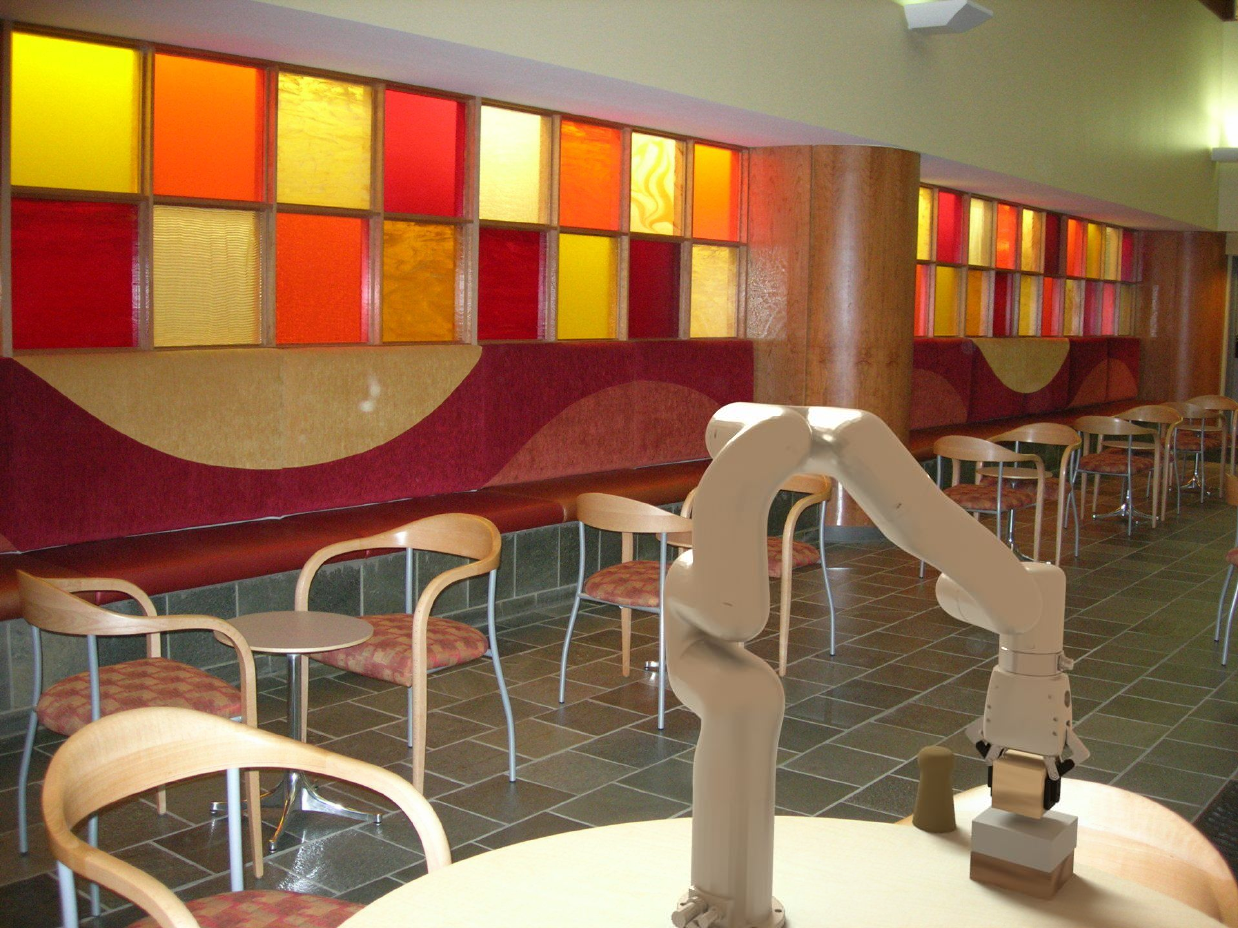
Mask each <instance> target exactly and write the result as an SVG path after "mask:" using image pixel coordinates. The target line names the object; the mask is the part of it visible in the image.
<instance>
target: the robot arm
mask: <svg viewBox="0 0 1238 928" xmlns="http://www.w3.org/2000/svg"><path fill="white" fill-rule="evenodd" d="M704 439H705V446H706V449H707V451H708V454H709V456H710V457H711V458H712V461H711V463H710V464H709V466H708V467H707V468H706V470H705V472H704V473H703V475H702V477H701V479H700V481H699V483H698V484H697V488H696V491H695V493H694V499H693V502H692V509H691V548H690V549H687V551H685V552H683V553H682V554H680V555H679V556H678V557H677V558H675V559H674V561H673V563H672V564H671V565H670V566H669V569H668V571H667V573H666V576H665V579H664V580H665V581H664V584H663V592H662V606H663V609H662V610H663V627H664V641H665V642H664V643H665V644H664V645H665V647H664V648H665V658H666V661H665V662H666V668H667V669H666V670H667V675H668V681H669V685H670V687H671V689H672V692H673V693H674V695H675V696H676V698H677V699H678V701H680V703H682V704H683V705H684V706H685V707H686V708H687V709H689V710H690V711H692V712H693V713H694V714H696V716H697V717H698V718H699V719H700V724H701V725H700V733H699V736H698V740H697V744H696V747H695V751H694V756H693V765H692V812H691V813H692V815H691V817H692V821H691V825H692V827H691V859H690V860H691V861H690V863H691V864H690V886H688V891H687V892H686V893H684V894H683V895H682V896H681V897H679V899H678V901H677V903H676V910H675V911H673V912H672V914H671V916H670V917H671V918H670V919H671V921H672V925H674V926H675V927H676V928H783V927H784V926H785V921H786V910H785V907H784V905H783V904H782V902H781V901H780V900H779V899H777V897H775V896H773V883H774V882H773V881H774V880H773V878H774V849H775V848H774V847H775V819H776V818H775V815H776V813H775V812H776V773H777V772H776V771H777V757H778V747H779V741H780V735H781V730H782V727H783V726H782V725H783V720H784V717H785V709H786V696H785V690H784V686H783V684H782V681H781V679H780V677H779V676H778V674H777V673H776V671H775V669H773V667H772V666H771V665H770V664H769V663H768V662H766V660H764V659H762V658H761V657H760V656H758V655H756V654H754V653H752V652H751V651H750V650H748V649H746V648H744V647H741V646H740V643H745V642H749V641H751V640H752V639H753V640H754V639H755V638H756V637H757V636H758V635H760V634H761V633H762V631H763V630H764V628H765V627H766V624H767V623H768V619H769V617H770V611H771V610H770V609H771V593H770V579H769V578H770V577H769V576H770V575H769V559H768V541H767V540H768V520H769V518H768V517H769V512H770V509H771V506H772V504H773V501H774V500H775V497H776V496H777V494H778V493H779V491H780V490H781V489H782V488H783V486H785V484H786V483H787V482H788V481H789V480H791V479H792V478H793V477H794V476H796V475H797V474H798V475H799V474H802V475H803V474H805V475H807V474H809V475H814V474H815V475H820V476H825V477H829V478H834V479H835V481H837V482H839V484H840V485H841V486H842V487H843V489H844V490H845V491H846V492H847V493H848V494H849V496H850V497H851V498H852V499H853V500H854V502H856V504H857V505H858V506H859V507H860V508H861V509H862V510H863V512H864V513H865V514H866V515H867V516H868V517H869V518H870V520H871V521H872V522H873V524H874V525H876V527H877V528H878V529H879V531H881V533H882V534H883V535H884V536H885V537H886V538H887V539H888V540H889V541H890V542H892V543H893V544H894V545H895V546H896V547H899V548H900V549H901V550H903V551H904V552H907V553H908V554H910V555H911V556H914V557H915V558H917V559H919V560H921V561H923V562H924V563H926V564H929V565H930V566H931V567H933V568H935V569H936V570H938V571H939V572H941V573H940V575H939V576H938V578H937V581H936V584H935V597H936V600H937V602H938V604H939V605H940V607H941V608H942V610H944V611H945V612H946V613H947V614H948V615H950V616H951V617H953V618H954V619H957V620H958V621H962V622H965V623H968V624H971V625H973V626H976V627H980V628H983V629H984V630H988V631H990V632H992V633H995V634H998V635H999V638H998V639H999V642H998V643H999V644H998V645H999V646H998V664H996V665H995V666H994V667H993V668H992V672H991V674H990V675H991V676H990V679H989V683H988V687H987V693H986V697H985V704H984V712H983V715H982V716H980V717H979V718H978V719H977V720H975V721H974V722H973V723H972V724H971V725H969V726H968V727H966V728H965V730H964V733H965V735H966V737H967V738H968V739H969V740H970V742H971V743H972V744H974V746H975V749H976V751H978V752H979V754H980V755H981V756H982V757H983V759H984V763H985V764H986V766H988V767H987V768H988V769H987V785H986V786H987V788H990V792H989V795H990V797H991V798H992V782H993V761H995V760H996V759H997V758H999V757H1000V756H1001V755H1002V754H1004V753H1005V752H1006V749H1007V750H1009V749H1010V750H1015V751H1020V752H1025V753H1029V754H1034V755H1039V756H1043V759H1044V762H1045V765H1046V768H1047V771H1048V777H1047V778H1046V779H1045V786H1044V805H1043V808H1044V809H1045V810H1052V809H1053V807H1054V806H1055V805H1056V804H1058V803H1059V802H1060V800H1061V789H1062V787H1061V786H1062V777H1063V776H1064V775H1066V774H1067V773H1069V772H1070V771H1071V770H1073V769H1074V768H1076V767H1077V766H1079V765H1080V764H1081V763H1083V762H1085V761H1086V760H1087V759H1089V757H1090V756H1091V752H1090V750H1089V749H1088V748H1087V747H1086V746H1085V744H1084V743H1083V742H1082V740H1081V739H1080V738H1079V737H1078V735H1077V734H1076V733H1075V732H1074V731H1073V706H1072V694H1071V687H1070V686H1071V685H1070V679H1069V675H1068V674H1066V673H1063V671H1066V670H1071V671H1072V670H1073V669H1074V665H1075V661H1074V658H1068V656H1066V654H1065V650H1063V648H1064V647H1063V646H1064V644H1063V643H1064V627H1065V626H1064V625H1065V610H1066V588H1067V586H1066V585H1067V576H1066V574H1065V572H1064V571H1063V569H1062V568H1060V567H1059V566H1058V565H1055V564H1051V563H1046V562H1039V561H1020V559H1019V558H1018V556H1016V555H1015V553H1013V551H1012V550H1011V548H1009V547H1008V546H1007V545H1006V544H1005V543H1004V542H1003V541H1002V540H1001V539H1000V538H999V537H998V536H996V535H995V533H993V532H992V531H991V530H990V529H989V528H987V527H986V526H984V524H982V523H981V522H979V521H978V520H977V519H976V518H975V517H973V516H972V515H971V514H970V513H969V512H968V511H966V510H965V509H964V508H963V507H962V506H960V505H959V504H958V503H957V502H955V501H954V500H953V499H951V498H950V497H949V496H948V495H946V494H945V493H944V492H943V491H942V490H941V489H940V487H939V486H938V485H937V484H936V483H935V482H934V480H933V479H932V478H931V477H930V476H929V474H928V473H927V472H926V471H925V469H924V468H923V467H922V466H921V465H920V464H919V462H918V460H916V459H915V457H914V456H913V455H912V454H911V452H910V451H909V450H908V449H907V448H906V446H905V445H904V444H903V443H902V441H900V439H899V437H898V436H896V433H894V432H893V431H892V429H891V428H890V427H889V426H888V424H886V423H885V422H884V421H883V419H881V418H880V417H878V416H877V415H876V414H874V413H872V412H870V411H867V410H864V409H857V408H849V407H846V408H845V407H837V406H814V405H813V406H811V405H810V406H809V405H807V406H805V405H786V404H783V405H781V404H769V403H758V402H756V403H755V402H746V401H745V402H744V401H743V402H742V401H739V402H738V401H736V402H733V403H729V404H726V405H724V406H722V407H721V408H720V409H718V410H717V411H716V412H715V413H714V414H713V415H712V417H711V418H710V419H709V421H708V424H707V426H706V429H705V438H704ZM982 733H983V734H982ZM1068 749H1070V750H1071V751H1072V755H1070V756H1069V757H1068V758H1066V759H1065V760H1064V761H1063V759H1062V753H1063V750H1068Z"/></svg>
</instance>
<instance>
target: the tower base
mask: <svg viewBox="0 0 1238 928" xmlns="http://www.w3.org/2000/svg"><path fill="white" fill-rule="evenodd" d="M969 855H970V860H969V863H970V864H969V879H970V880H974V881H977V882H981V883H984V884H987V885H988V884H989V885H991V886H995V887H999V888H1002V889H1006V890H1010V891H1013V892H1017V893H1021V894H1024V895H1028V896H1032V897H1035V898H1039V899H1041V900H1045V899H1046V900H1045V901H1049V902H1051V900H1052V899H1053V898H1054V897H1055V895H1057V893H1058V892H1059V891H1060V889H1061V888H1062V887H1063V886H1064V884H1065V883H1066V882H1067V881H1068V880H1069V879H1070V878H1071V876H1072V875H1073V873H1074V867H1075V865H1074V864H1075V863H1074V862H1075V849H1074V850H1073V851H1072V852H1071V853H1070V854H1069V855H1068V856H1067V857H1066V858H1065V859H1064V860H1063V861H1062V862H1061V863H1060V864H1059V865H1058V866H1057V867H1056V868H1055V869H1054V870H1053V871H1052V872H1051V873H1048V872H1045V871H1041V870H1038V869H1034V868H1030V867H1027V866H1023V865H1019V864H1016V863H1012V862H1009V861H1005V860H1001V859H998V858H994V857H990V856H987V855H983V854H980V853H976V852H972V851H971V850H970V854H969ZM1058 890H1059V891H1058Z"/></svg>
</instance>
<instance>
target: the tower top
mask: <svg viewBox="0 0 1238 928" xmlns="http://www.w3.org/2000/svg"><path fill="white" fill-rule="evenodd" d="M1078 822H1079V816H1076V815H1072V814H1069V813H1065V812H1059V811H1057V810H1052V809H1050V810H1048V811H1047V812H1046V813H1045V814H1044V815H1043V816H1042V817H1041V818H1040V819H1036V818H1032V817H1028V816H1024V815H1020V814H1016V813H1012V812H1008V811H1003V810H999V809H995V808H991V805H990V806H988V807H987V808H986V809H985V810H984V811H982V812H981V813H980V814H978V815H977V816H976V817H975V818H973V819H972V820H971V835H970V836H971V837H970V852H971V851H972V852H976V853H980V854H983V855H987V856H990V857H994V858H998V859H1001V860H1005V861H1009V862H1012V863H1016V864H1019V865H1023V866H1027V867H1030V868H1034V869H1038V870H1041V871H1045V872H1048V873H1051V872H1052V871H1053V870H1054V869H1055V868H1056V867H1057V866H1058V865H1059V864H1060V863H1061V862H1062V861H1063V860H1064V859H1065V858H1066V857H1067V856H1068V855H1069V854H1070V853H1071V852H1072V851H1073V850H1074V851H1075V850H1076V848H1077V846H1078V845H1077V843H1078V842H1077V841H1078V824H1079V823H1078Z"/></svg>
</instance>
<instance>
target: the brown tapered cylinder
mask: <svg viewBox="0 0 1238 928" xmlns="http://www.w3.org/2000/svg"><path fill="white" fill-rule="evenodd" d="M956 760H957V759H956V756H955V753H954V752H953V751H952V750H951V749H949V748H947V747H944V746H940V745H939V746H938V745H927V746H924V747H922V748H921V749H920V750H919V751H918V754H917V765H918V767H919V769H920V776H919V779H918V780H919V781H918V785H917V792H916V797H915V803H914V808H913V809H914V810H913V815H912V819H911V823H912V826H914V827H915V828H917V829H919V830H921V831H924V832H929V833H937V834H938V833H939V834H944V833H945V834H946V833H950V832H954V830H956V829H957V824H956V823H957V821H956V811H955V803H954V802H955V799H954V790H953V779H952V773H953V772H954V771H955V768H956V762H957V761H956Z"/></svg>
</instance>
